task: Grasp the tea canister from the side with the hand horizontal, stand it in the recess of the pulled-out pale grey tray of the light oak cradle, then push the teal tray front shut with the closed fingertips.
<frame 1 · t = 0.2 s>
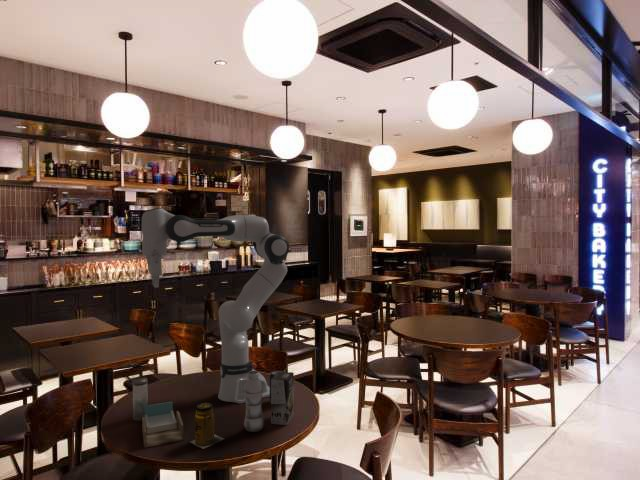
hand: (155, 286, 168), 48 cm above the table, tool pointing down, fingers open, 8 cm apart
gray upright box: (278, 402, 175), on the table
tray: (160, 417, 154), point 3 cm above the table, slide at 7.0 cm
condiment: (207, 441, 143), on the table
plastic bottle: (253, 430, 150), on the table
canister: (140, 417, 161), on the table
coffee box: (282, 419, 159), on the table
housing: (162, 435, 147), on the table
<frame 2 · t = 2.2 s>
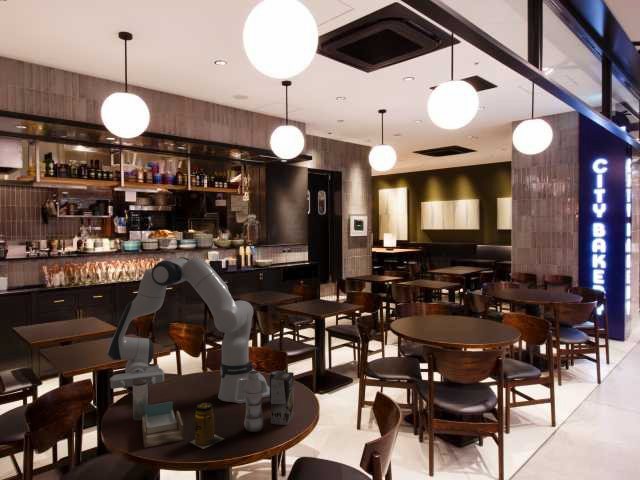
hand: (138, 385, 172), 8 cm above the table, tool horizontal, fingers open, 8 cm apart
nothing on the table moved.
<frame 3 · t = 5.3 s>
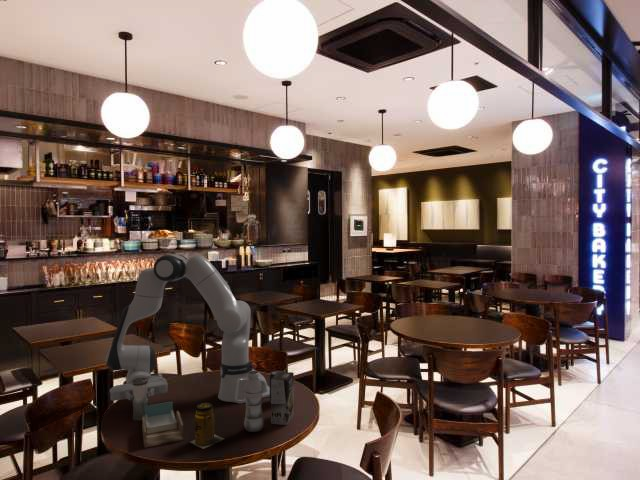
hand: (140, 396, 160), 8 cm above the table, tool horizontal, fingers closed on canister, 5 cm apart
canister: (140, 417, 161), on the table, touching gripper
everything else where it was.
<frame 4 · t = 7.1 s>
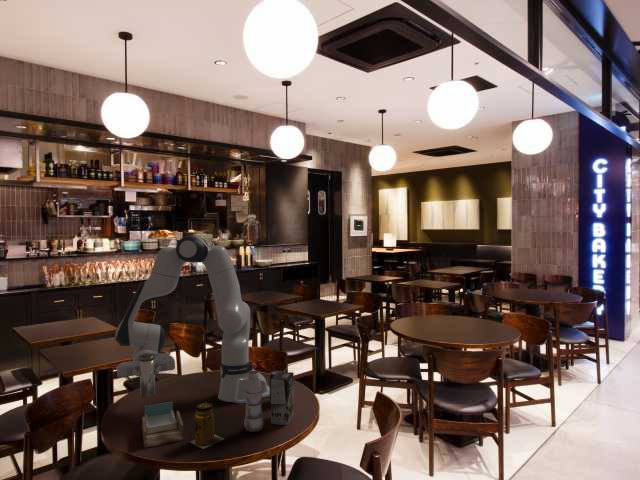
hand: (147, 372, 157), 18 cm above the table, tool horizontal, fingers closed on canister, 5 cm apart
canister: (147, 394, 158), point 10 cm above the table, touching gripper
everything else where it was.
when the fingers open (11 cm above the table, at t = 9.2 s): canister drops 1 cm, resting on tray.
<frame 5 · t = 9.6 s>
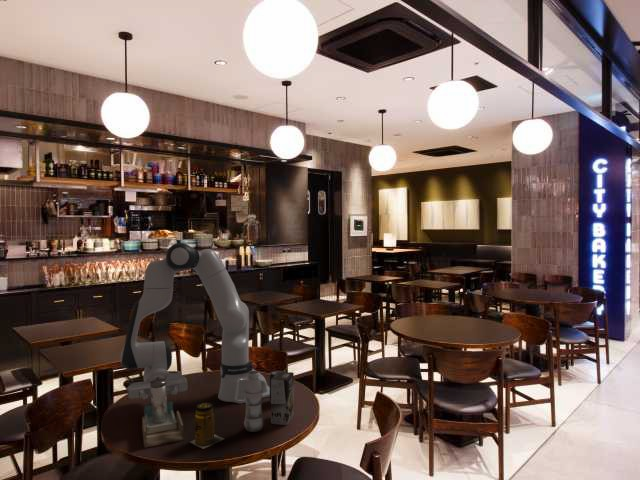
hand: (160, 394, 153), 11 cm above the table, tool horizontal, fingers open, 8 cm apart
tray: (160, 417, 154), point 3 cm above the table, slide at 7.0 cm, touching canister
canister: (160, 420, 154), point 2 cm above the table, touching tray
everything else where it was.
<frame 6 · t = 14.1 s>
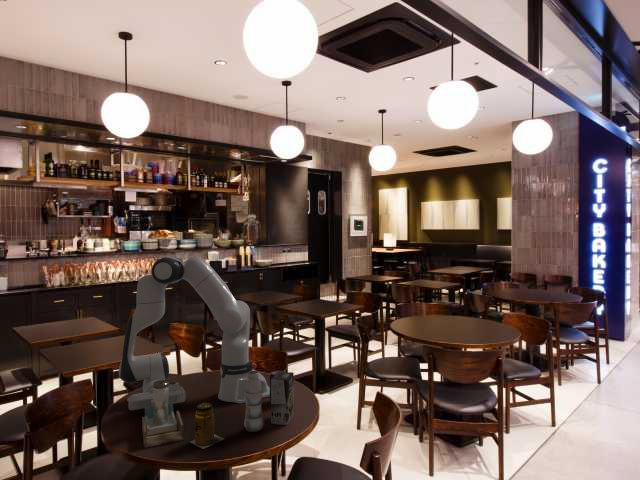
hand: (158, 406, 158), 5 cm above the table, tool horizontal, fingers closed, pressing on tray
tray: (160, 418, 153), point 3 cm above the table, slide at 5.8 cm, touching canister, gripper
canister: (160, 422, 152), point 2 cm above the table, touching tray
everything else where it was.
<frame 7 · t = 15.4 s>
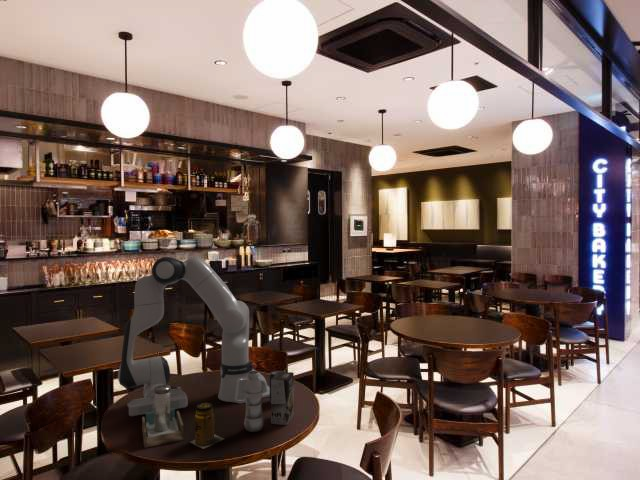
hand: (160, 412, 153), 5 cm above the table, tool horizontal, fingers closed, pressing on tray
tray: (162, 425, 147), point 3 cm above the table, slide at 0.2 cm, touching canister, gripper
canister: (162, 428, 147), point 2 cm above the table, touching tray
everything else where it was.
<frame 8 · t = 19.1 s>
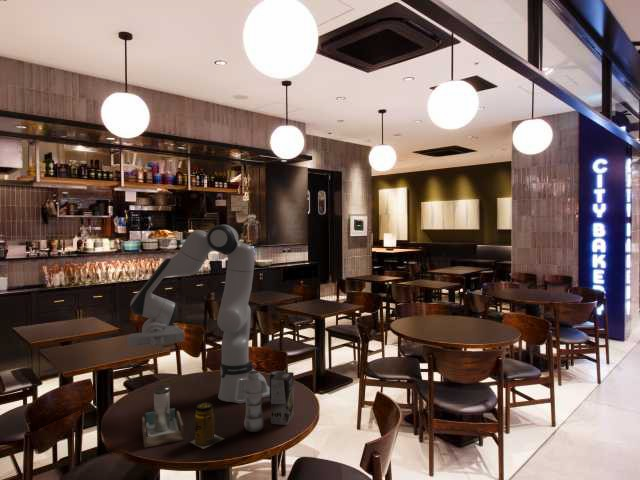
hand: (157, 342, 160), 28 cm above the table, tool horizontal, fingers closed
tray: (162, 425, 147), point 3 cm above the table, slide at 0.1 cm, touching canister
everything else where it was.
at the end: tray slide at 0.1 cm; canister inside the target area on the housing (0.8 cm from its centre), point 1.9 cm above the housing's base; canister tilted 1° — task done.
